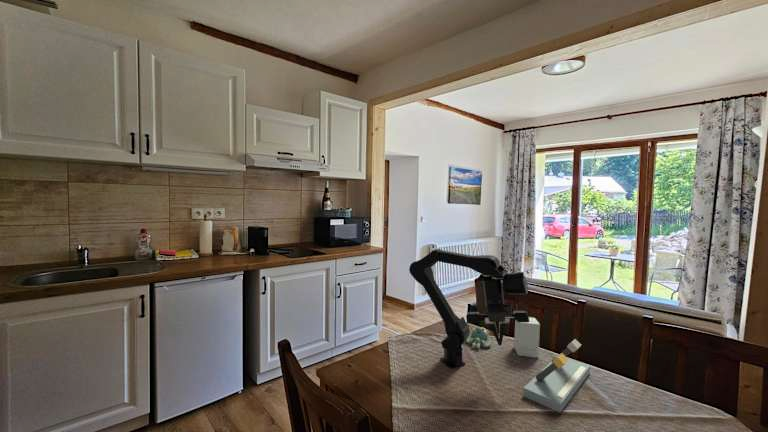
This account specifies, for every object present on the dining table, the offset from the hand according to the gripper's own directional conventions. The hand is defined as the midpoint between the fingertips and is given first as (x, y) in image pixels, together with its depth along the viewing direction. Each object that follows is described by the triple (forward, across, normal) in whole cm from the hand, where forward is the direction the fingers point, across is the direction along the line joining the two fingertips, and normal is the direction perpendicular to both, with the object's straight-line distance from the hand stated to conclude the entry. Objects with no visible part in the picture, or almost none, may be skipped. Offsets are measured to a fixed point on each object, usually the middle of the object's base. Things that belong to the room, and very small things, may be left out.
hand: (500, 345), depth 102 cm
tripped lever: (+9, +11, +1) cm, 14 cm away
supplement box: (+9, +9, +26) cm, 29 cm away
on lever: (+8, +18, +14) cm, 24 cm away
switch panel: (+13, +16, +7) cm, 22 cm away
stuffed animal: (+6, -8, +26) cm, 28 cm away
